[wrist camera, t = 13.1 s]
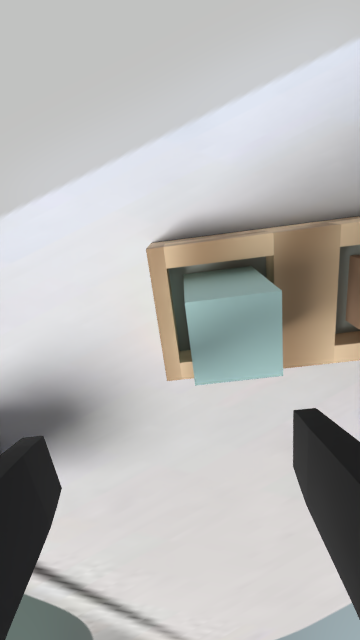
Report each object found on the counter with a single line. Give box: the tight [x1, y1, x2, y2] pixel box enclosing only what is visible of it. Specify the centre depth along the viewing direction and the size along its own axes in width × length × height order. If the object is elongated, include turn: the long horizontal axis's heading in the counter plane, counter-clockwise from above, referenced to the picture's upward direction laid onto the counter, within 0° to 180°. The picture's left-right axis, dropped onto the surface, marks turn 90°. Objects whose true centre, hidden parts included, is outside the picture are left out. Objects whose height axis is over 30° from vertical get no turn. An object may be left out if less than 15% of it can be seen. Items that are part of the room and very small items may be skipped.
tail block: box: [183, 266, 283, 385], centre depth 14 cm, size 4×4×5 cm
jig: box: [146, 216, 360, 381], centre depth 16 cm, size 18×7×3 cm, turn 97°
